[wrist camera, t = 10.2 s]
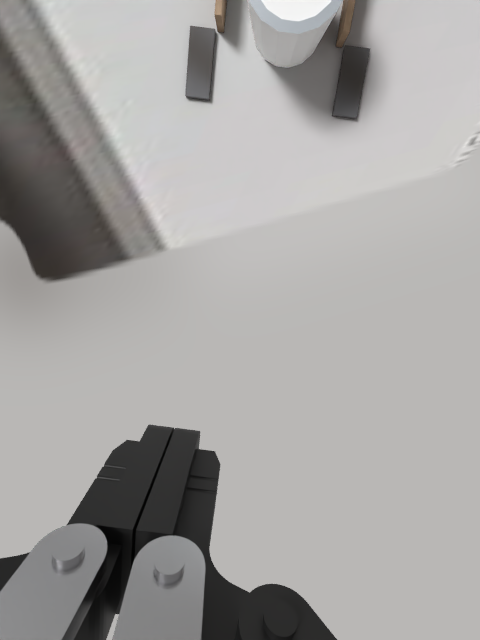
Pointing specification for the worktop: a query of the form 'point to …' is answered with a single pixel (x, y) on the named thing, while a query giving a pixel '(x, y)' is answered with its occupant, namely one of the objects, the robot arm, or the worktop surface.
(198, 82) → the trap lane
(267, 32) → the white cup
